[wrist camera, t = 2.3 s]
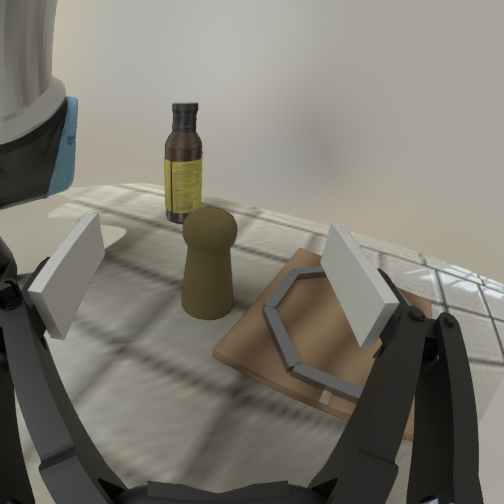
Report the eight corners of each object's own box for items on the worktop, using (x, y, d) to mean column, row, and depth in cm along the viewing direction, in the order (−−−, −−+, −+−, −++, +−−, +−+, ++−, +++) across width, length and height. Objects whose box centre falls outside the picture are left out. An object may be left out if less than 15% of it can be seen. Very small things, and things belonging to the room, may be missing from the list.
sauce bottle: (207, 214, 48) (216, 102, 37) (185, 228, 43) (191, 103, 32) (179, 205, 50) (184, 100, 39) (157, 217, 45) (158, 102, 34)
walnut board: (213, 356, 24) (213, 348, 24) (297, 254, 41) (299, 246, 40) (416, 442, 17) (424, 436, 16) (427, 307, 34) (431, 300, 33)
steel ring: (232, 347, 24) (233, 340, 24) (304, 254, 39) (306, 248, 39) (415, 423, 18) (421, 419, 17) (424, 304, 32) (427, 298, 32)
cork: (243, 298, 32) (255, 213, 26) (212, 328, 27) (216, 237, 21) (203, 276, 34) (206, 195, 28) (170, 302, 30) (164, 214, 24)
